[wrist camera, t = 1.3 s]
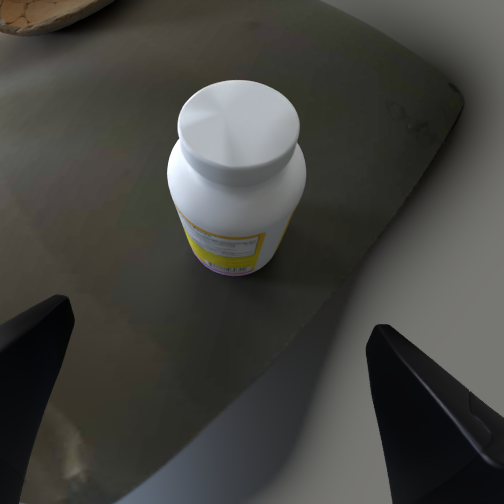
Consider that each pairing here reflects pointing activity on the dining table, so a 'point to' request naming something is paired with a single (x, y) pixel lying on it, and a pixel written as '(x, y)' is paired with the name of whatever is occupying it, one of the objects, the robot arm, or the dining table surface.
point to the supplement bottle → (236, 174)
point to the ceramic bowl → (44, 15)
